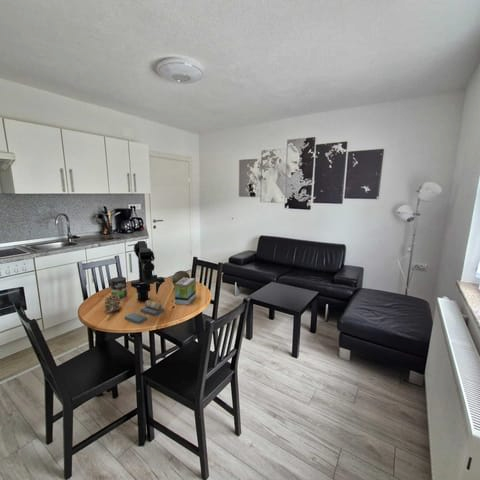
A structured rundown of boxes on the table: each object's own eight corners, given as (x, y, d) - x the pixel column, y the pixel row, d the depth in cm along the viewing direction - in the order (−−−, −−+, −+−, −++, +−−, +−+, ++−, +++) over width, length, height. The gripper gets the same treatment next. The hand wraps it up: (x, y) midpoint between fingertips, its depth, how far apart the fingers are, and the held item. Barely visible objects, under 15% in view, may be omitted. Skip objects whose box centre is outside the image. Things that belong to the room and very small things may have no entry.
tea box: (188, 305, 172) (187, 284, 170) (174, 304, 174) (173, 283, 172) (196, 297, 187) (195, 277, 184) (183, 295, 189) (183, 276, 186)
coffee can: (128, 298, 183) (127, 279, 181) (113, 301, 177) (111, 282, 175) (125, 293, 191) (124, 275, 189) (110, 296, 185) (108, 278, 183)
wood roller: (149, 305, 167) (149, 299, 167) (161, 308, 162) (161, 302, 162) (144, 307, 164) (144, 301, 163) (156, 311, 159) (156, 304, 158)
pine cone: (106, 306, 169) (105, 292, 168) (121, 304, 173) (120, 290, 171) (101, 321, 149) (100, 305, 147) (119, 319, 152) (118, 303, 151)
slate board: (150, 306, 169) (150, 304, 169) (164, 310, 164) (163, 308, 163) (124, 319, 152) (124, 316, 152) (138, 324, 146) (138, 321, 146)
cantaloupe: (171, 287, 205) (170, 269, 202) (188, 285, 211) (187, 267, 208) (174, 293, 192) (173, 274, 190) (192, 291, 198) (192, 272, 196)
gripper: (132, 274, 141) (134, 301, 142) (165, 269, 150) (167, 295, 151) (129, 271, 151) (131, 297, 152) (161, 267, 160) (163, 292, 161)
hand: (148, 295), depth 154 cm, fingers open, 9 cm apart
